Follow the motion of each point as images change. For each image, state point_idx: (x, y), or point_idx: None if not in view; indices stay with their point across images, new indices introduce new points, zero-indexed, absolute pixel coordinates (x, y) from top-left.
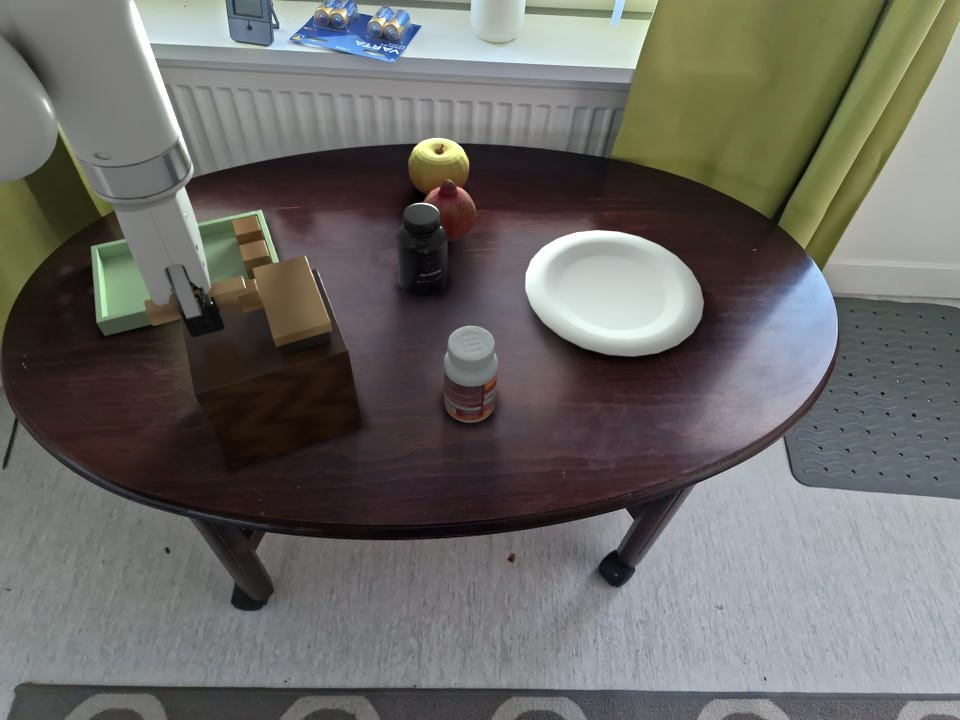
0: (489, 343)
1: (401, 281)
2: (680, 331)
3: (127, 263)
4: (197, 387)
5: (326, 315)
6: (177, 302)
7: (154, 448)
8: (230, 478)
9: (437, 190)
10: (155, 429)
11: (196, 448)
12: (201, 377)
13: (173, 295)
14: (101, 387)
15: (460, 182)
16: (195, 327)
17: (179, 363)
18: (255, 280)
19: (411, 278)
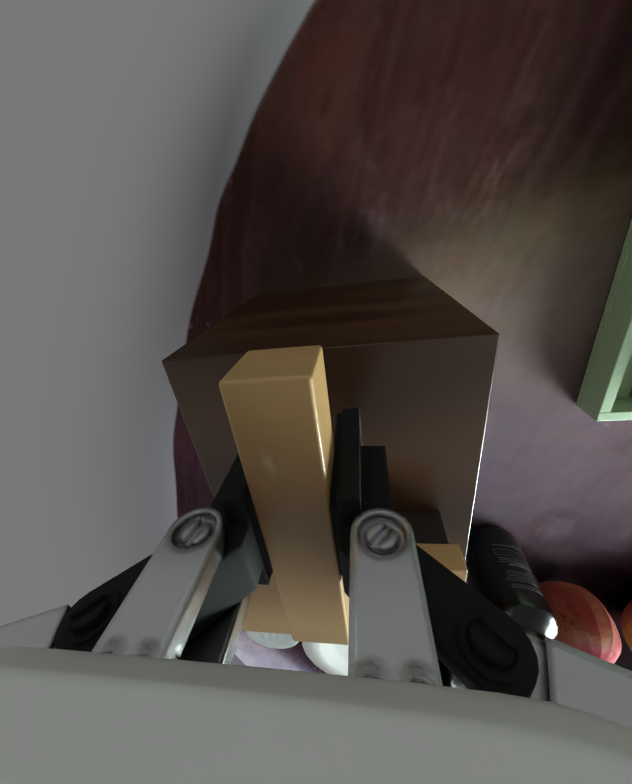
0: (267, 643)
1: (486, 538)
2: (317, 662)
3: None
4: (179, 368)
5: (261, 631)
6: (138, 583)
7: (317, 167)
8: (242, 290)
9: (609, 658)
10: (357, 167)
11: (301, 242)
12: (208, 377)
13: (102, 637)
14: (513, 17)
15: (628, 643)
16: (233, 463)
17: (498, 211)
18: (620, 378)
19: (473, 559)
